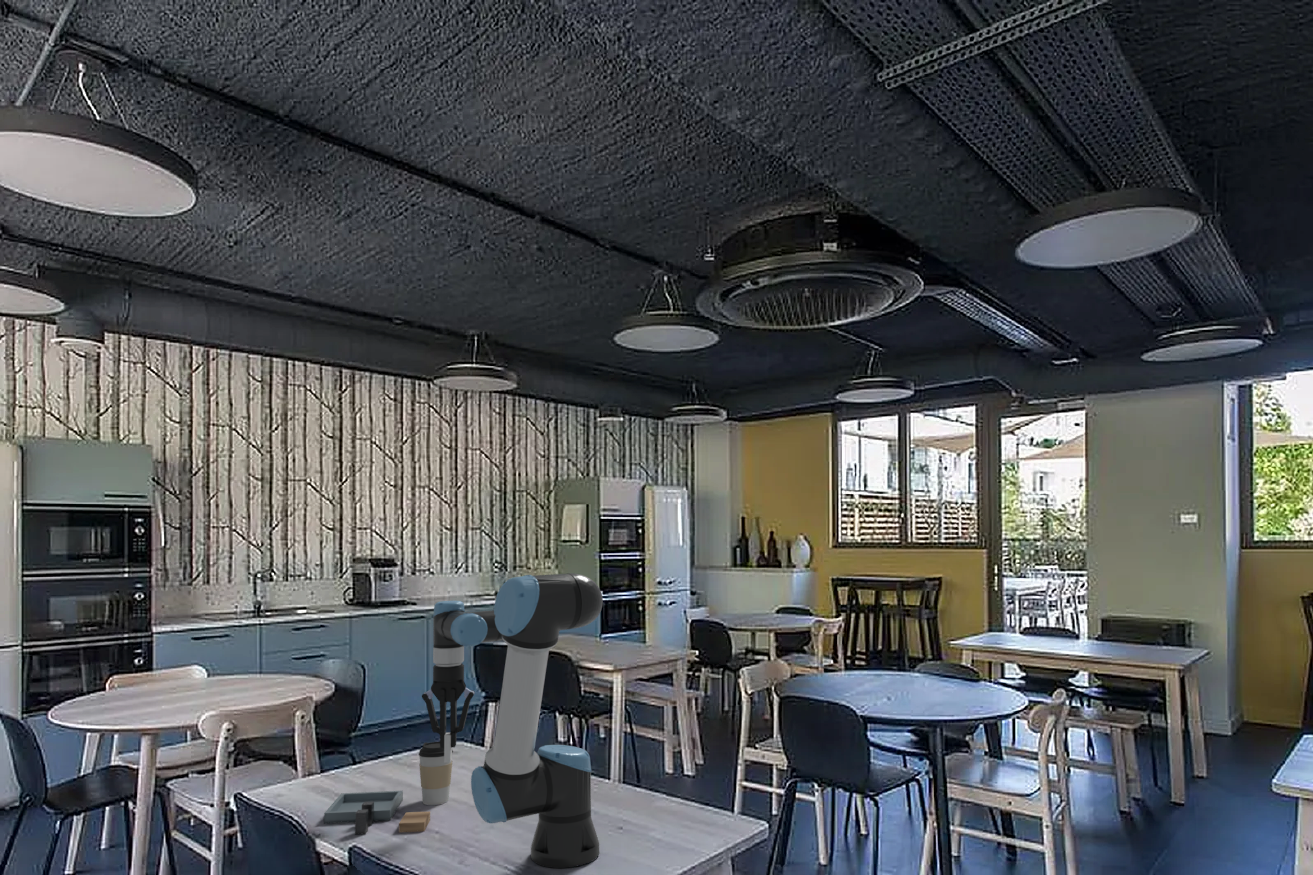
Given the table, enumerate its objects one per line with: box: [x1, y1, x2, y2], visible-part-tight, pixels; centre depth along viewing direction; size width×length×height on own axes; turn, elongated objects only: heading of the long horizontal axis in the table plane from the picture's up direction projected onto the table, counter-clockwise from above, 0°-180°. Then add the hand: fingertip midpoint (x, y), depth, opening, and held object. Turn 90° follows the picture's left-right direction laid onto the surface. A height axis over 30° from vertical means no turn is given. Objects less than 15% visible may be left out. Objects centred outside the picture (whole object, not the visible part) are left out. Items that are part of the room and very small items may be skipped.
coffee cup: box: [418, 741, 454, 806], centre depth 235 cm, size 9×9×15 cm
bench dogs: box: [354, 802, 375, 836], centre depth 214 cm, size 8×2×5 cm, turn 5°
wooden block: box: [398, 810, 431, 833], centre depth 215 cm, size 8×6×2 cm
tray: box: [323, 790, 404, 825], centre depth 227 cm, size 16×16×2 cm
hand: (448, 760), depth 217 cm, fingers closed
